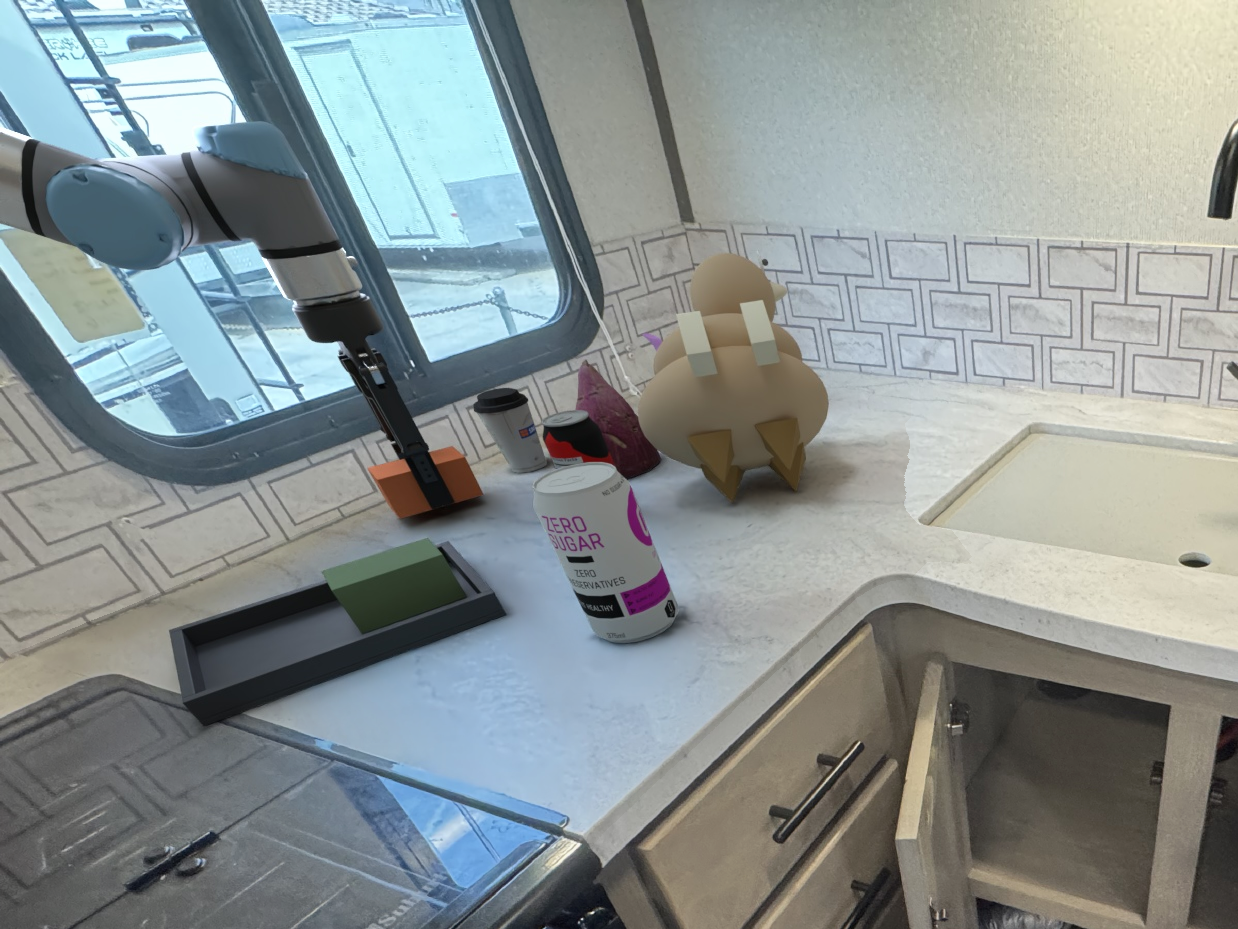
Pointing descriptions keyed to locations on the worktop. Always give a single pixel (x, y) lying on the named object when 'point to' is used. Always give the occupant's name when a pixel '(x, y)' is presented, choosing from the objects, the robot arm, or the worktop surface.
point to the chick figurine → (733, 381)
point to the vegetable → (615, 423)
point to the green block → (394, 585)
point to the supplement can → (605, 551)
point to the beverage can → (574, 439)
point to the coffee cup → (511, 428)
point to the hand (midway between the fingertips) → (436, 497)
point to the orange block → (406, 491)
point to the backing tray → (305, 643)
